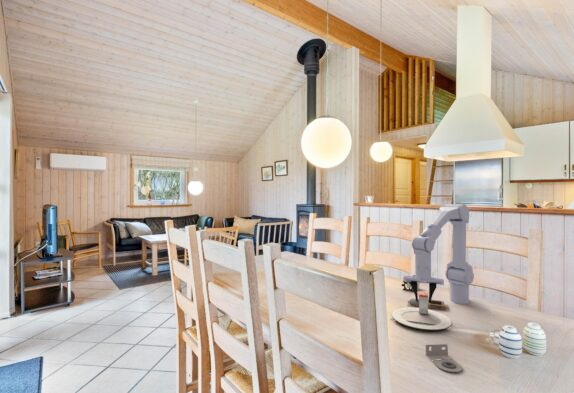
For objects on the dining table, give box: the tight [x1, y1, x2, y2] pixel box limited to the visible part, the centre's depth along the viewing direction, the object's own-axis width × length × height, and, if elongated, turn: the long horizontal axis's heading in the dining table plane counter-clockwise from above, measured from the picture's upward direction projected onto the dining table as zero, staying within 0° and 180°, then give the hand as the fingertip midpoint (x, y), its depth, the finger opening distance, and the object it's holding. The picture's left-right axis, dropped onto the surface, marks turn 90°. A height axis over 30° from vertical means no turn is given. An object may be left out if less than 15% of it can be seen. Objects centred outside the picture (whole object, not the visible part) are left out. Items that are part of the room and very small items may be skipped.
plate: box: [391, 307, 452, 331], centre depth 118 cm, size 21×21×2 cm
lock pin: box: [418, 292, 429, 315], centre depth 123 cm, size 3×3×7 cm
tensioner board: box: [407, 298, 451, 312], centre depth 131 cm, size 8×16×3 cm, turn 68°
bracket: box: [425, 343, 463, 373], centre depth 88 cm, size 7×10×4 cm, turn 2°
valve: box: [401, 274, 421, 293], centre depth 156 cm, size 7×7×12 cm
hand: (423, 301), depth 122 cm, fingers open, 4 cm apart
